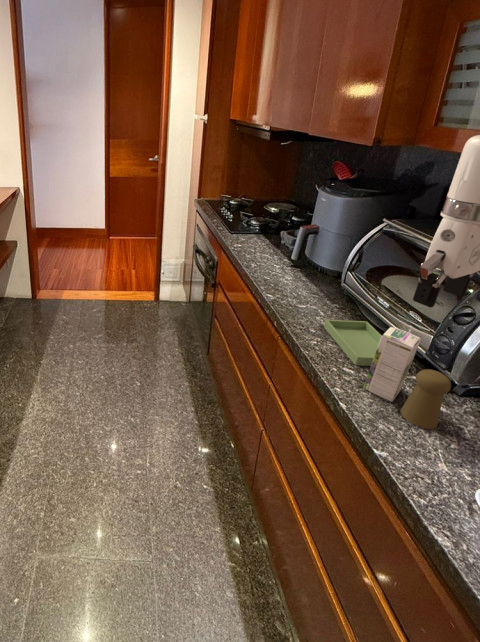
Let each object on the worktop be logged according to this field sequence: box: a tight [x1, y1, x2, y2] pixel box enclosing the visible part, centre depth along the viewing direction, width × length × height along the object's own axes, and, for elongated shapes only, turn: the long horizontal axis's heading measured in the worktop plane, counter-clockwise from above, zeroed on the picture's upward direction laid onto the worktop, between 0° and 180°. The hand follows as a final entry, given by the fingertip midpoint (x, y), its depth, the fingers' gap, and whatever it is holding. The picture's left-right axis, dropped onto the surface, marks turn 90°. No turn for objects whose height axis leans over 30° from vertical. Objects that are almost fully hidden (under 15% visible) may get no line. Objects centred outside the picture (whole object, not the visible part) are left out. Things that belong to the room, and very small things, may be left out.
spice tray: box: [323, 319, 383, 367], centre depth 102 cm, size 17×11×2 cm, turn 175°
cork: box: [400, 368, 452, 430], centre depth 77 cm, size 6×6×11 cm
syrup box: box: [362, 326, 422, 403], centre depth 84 cm, size 6×6×14 cm
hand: (438, 298), depth 73 cm, fingers open, 9 cm apart
